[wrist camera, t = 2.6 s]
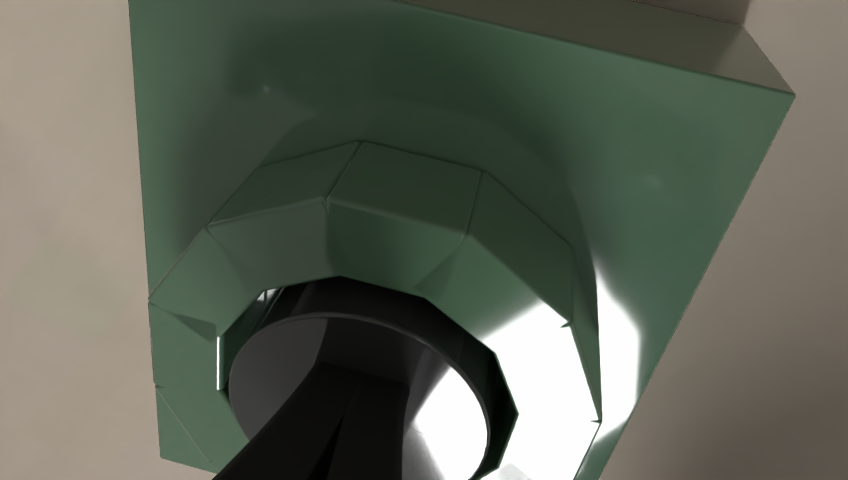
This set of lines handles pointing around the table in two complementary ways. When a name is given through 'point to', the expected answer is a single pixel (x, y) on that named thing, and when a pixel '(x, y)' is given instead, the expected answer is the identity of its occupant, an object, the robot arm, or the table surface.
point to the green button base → (443, 191)
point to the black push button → (375, 367)
